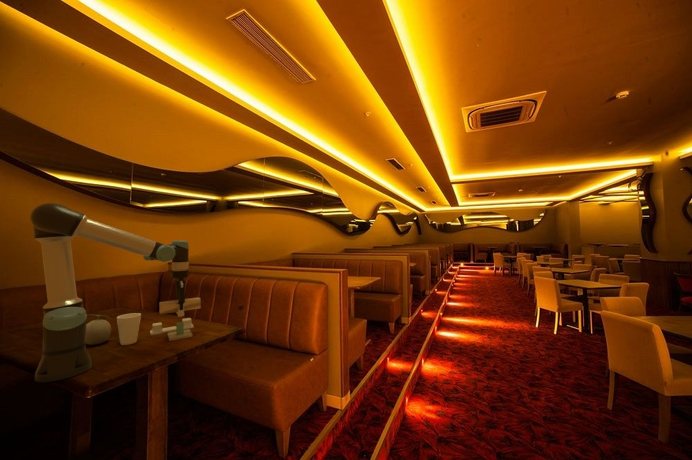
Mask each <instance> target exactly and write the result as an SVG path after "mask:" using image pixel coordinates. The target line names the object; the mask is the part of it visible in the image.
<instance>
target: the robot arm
mask: <svg viewBox="0 0 692 460" xmlns="http://www.w3.org/2000/svg"><path fill="white" fill-rule="evenodd" d="M29 217H30V218H29V219H30V221H31V224H32V228H33V229H32V230H33V234H34V235H33V236H34V240H35V241H36V242H38V243H40V246H41V254H42V255H41V256H42V263H43V272H44V280H45V289H46V290H45V291H46V299H47V302H46V304H45V305H43V306H42V311H43V320H42V323H41V324H42V355H41V359H40V361H39V364H38V366H37V367H36V370H35V372H34V381H35V382H38V383H51V382H57V381H62V380H66V379H70V378H73V377H75V376H79V375H81V374H83V373H85V372H87V371H88V370H89V369H91V368H92V359H91V356H90V354H89V352H88V350H87V345H86V344H87V343H86V324H87V318H88V314H87V310H86V309H85V308H84V303H83V299H82V298H80V297H78V294H77V285H76V276H75V275H76V274H75V268H74V267H75V265H74V259H73V257H74V256H73V249H72V240H73V239H74V238H75V237H81V238H84V239H86V240H91V241H94V242H97V243H101V244H104V245H107V246H111V247H114V248H117V249H120V250H124V251H127V252H129V253H133V254H138V255H140V256H143V260H144V261H151V262H152V261H159V262H163V263H167V262H170V261H171V270H172V271H171V278H172V279H176V281H175V291H176V292H175V299H176V300H178V303H177V304H178V312H176V315H177V318H179V317H185V311H184V303H185V299H186V297H185V294H186V293H185V292H186V291H185V290H186V281H185V280H184V279H186V278H189V275H190V274H189V273H190V272H189V270H188V269H189V265H190V263H189V255H190V254H189V250H190V249H189V247H190V245H189V242H188V241H187V240H172V241H171V244H163V243H161V242H158V241H155V240H152V239H150V238H146V237H143V236H141V235H137V234H135V233H132V232H129V231H126V230H123V229H120V228H118V227H115V226H112V225H108V224H105V223H102V222H100V221H97V220H95V219H91V218H88V216H87V214H84V213H82V212H78V211H77V210H74V209H72V208H69V207H68V206H66V205H63V204H61V203H56V202H46V203H42V204H39V205H37V206H36V207H34V209H33V210H32V211H31V213H30V215H29ZM50 381H51V382H50Z"/></svg>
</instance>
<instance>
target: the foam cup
mask: <svg viewBox="0 0 692 460" xmlns="http://www.w3.org/2000/svg"><path fill="white" fill-rule="evenodd" d="M141 320H142V313H140V312H139V313H138V312H137V313H136V312H134V313H133V312H131V313H126V314H121V315H118V316H117V317H116V324H117V330H118V337H119V343H120V345H121V346H128V345H132V344H135V343H137V341H138V336H139V329H140V323H141Z"/></svg>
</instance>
